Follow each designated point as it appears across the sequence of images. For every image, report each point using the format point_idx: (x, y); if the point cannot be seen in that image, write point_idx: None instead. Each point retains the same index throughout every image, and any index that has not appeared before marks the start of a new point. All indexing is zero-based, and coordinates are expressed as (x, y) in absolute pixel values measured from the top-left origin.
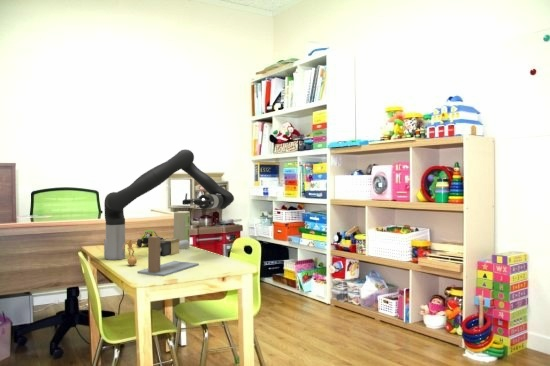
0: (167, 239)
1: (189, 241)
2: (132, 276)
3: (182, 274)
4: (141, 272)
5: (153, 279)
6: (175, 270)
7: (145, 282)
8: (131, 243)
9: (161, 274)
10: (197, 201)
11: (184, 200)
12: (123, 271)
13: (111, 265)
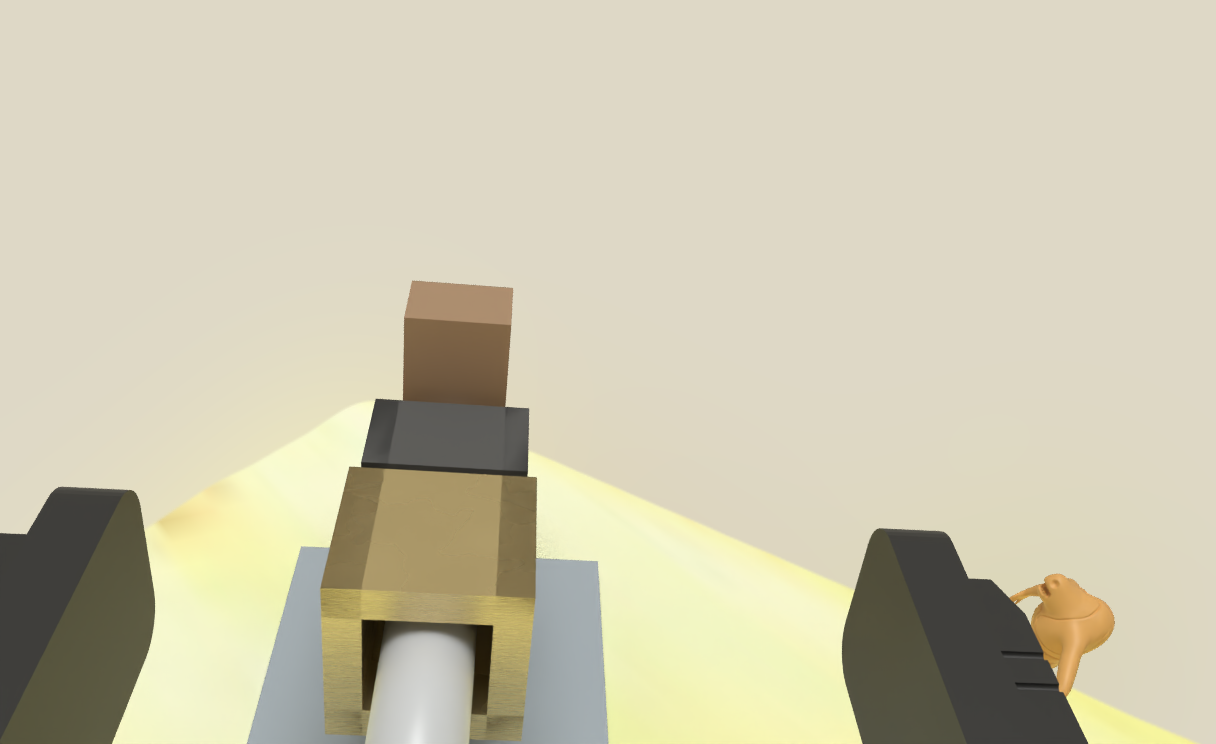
0: (473, 533)
1: None
2: (548, 498)
3: (158, 655)
4: (551, 563)
5: (330, 479)
6: (272, 683)
7: (337, 419)
8: (1036, 619)
9: (328, 550)
10: (120, 495)
11: (887, 555)
12: (756, 585)
13: (1095, 719)
